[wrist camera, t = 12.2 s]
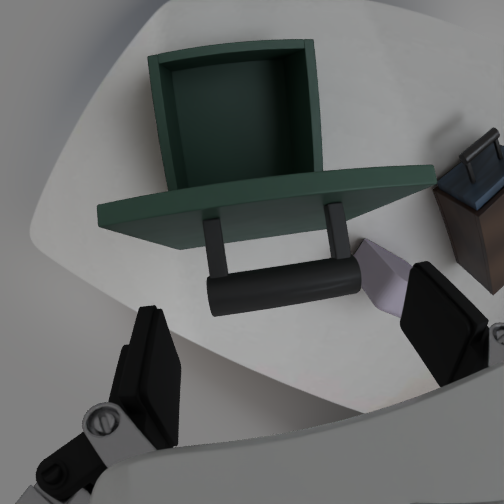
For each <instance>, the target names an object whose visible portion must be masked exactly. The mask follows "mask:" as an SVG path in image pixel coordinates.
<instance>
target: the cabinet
mask: <svg viewBox="0 0 504 504" xmlns="http://www.w3.org/2000/svg"><path fill="white" fill-rule="evenodd" d="M433 192H434V195H435V198H436V200H437V203H438V206H439V208H440V211H441V214H442V217H443V220H444V223H445V225H446V228H447V231H448V235H449V238H450V241H451V244H452V247H453V251H454V254H455V257H456V261H457V263H458V264H459V265H460V266H462V267H463V268H464V269H465V270H466V271H467V272H468V273H469V274H471V275H472V276H473V277H474V278H475V279H476V280H477V281H478V282H479V283H480V284H482V285H483V286H484V287H485V288H486V289H487V290H488V291H489V292H490V293H491V294H492V295H494V294H495V293H496V292H497V291H498V290H499V289H501V288H502V287H503V286H504V188H503V189H502V190H501V191H500V192H499V193H497V194H496V195H495V196H494V197H493V198H492V199H491V200H490V201H489V202H488V203H487V204H486V205H485V206H483V207H482V208H481V209H480V210H479V211H478V210H475V209H473V208H472V207H470V206H468V205H467V204H465V203H463V202H461V201H460V200H458V199H456V198H454V197H453V196H451V195H449V194H447V193H446V192H444V191H442V190H440V189H439V187H438V186H436V187H435V188H434V189H433Z"/></svg>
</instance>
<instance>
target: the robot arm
mask: <svg viewBox="0 0 504 504" xmlns="http://www.w3.org/2000/svg"><path fill="white" fill-rule="evenodd" d="M488 321H489V320H488V319H487V318H486V317H485V316H484V315H483V314H482V313H481V312H480V311H479V310H478V309H477V308H476V307H475V306H474V305H473V304H472V303H471V302H470V301H469V300H468V299H467V298H466V297H465V296H464V295H463V294H462V293H461V292H460V291H459V290H458V289H457V288H456V287H455V286H454V285H453V284H452V283H451V282H450V281H449V280H448V279H447V278H446V277H445V276H444V275H443V274H442V273H441V272H440V271H439V270H437V269H436V268H435V267H434V266H433V265H432V264H431V263H430V262H428V261H425V262H420V263H415V264H414V265H413V268H411V269H410V272H409V278H408V284H407V290H406V295H405V300H404V305H403V310H402V315H401V319H400V327H401V329H402V331H403V332H404V334H405V335H406V337H407V338H408V340H409V341H410V343H411V344H412V345H413V347H414V348H415V350H416V351H417V353H418V354H419V356H420V357H421V359H422V360H423V362H424V363H425V365H426V366H427V368H428V369H429V371H430V372H431V374H432V375H433V377H434V378H435V380H436V382H437V383H438V385H439V386H440V387H441V388H438V389H436V390H433V391H431V392H428V393H426V394H423V395H420V396H418V397H415V398H412V399H409V400H406V401H404V402H401V403H398V404H395V405H392V406H389V407H386V408H382V409H379V410H376V411H373V412H369V413H366V414H363V415H359V416H356V417H352V418H348V419H344V420H341V421H337V422H333V423H329V424H325V425H321V426H316V427H311V428H307V429H302V430H297V431H292V432H287V433H282V434H276V435H271V436H264V437H258V438H251V439H244V440H237V441H229V442H221V443H212V444H202V445H194V446H184V447H175V448H173V446H177V445H178V429H179V402H180V383H181V364H180V360H179V357H178V354H177V352H176V349H175V346H174V343H173V340H172V337H171V334H170V331H169V329H168V326H167V323H166V319H165V316H164V313H163V311H162V309H157V307H156V306H155V305H153V306H144V307H140V308H139V310H138V314H137V318H136V321H135V325H134V328H133V332H132V336H131V340H130V344H129V345H124V346H123V347H122V350H121V354H120V357H119V361H118V364H117V368H116V373H115V376H114V381H113V384H112V389H111V393H110V397H109V402H104V403H99V404H97V405H95V406H93V407H92V408H90V409H89V410H88V411H87V412H86V414H85V415H84V418H83V421H82V428H83V430H84V432H82V433H81V434H80V435H78V436H77V437H76V438H74V439H73V440H71V441H70V442H68V443H67V444H66V445H64V446H63V447H61V448H60V449H59V450H57V451H56V452H54V453H53V454H51V455H50V456H49V457H47V458H46V459H44V460H43V461H42V462H41V463H40V465H39V466H38V468H37V471H36V481H37V483H36V484H35V485H34V487H33V486H32V485H30V486H29V487H28V488H27V490H26V491H25V492H24V493H23V495H22V496H21V497H20V499H19V500H18V501H17V502H16V503H15V504H504V323H500V322H499V323H495V324H493V325H492V326H491V327H490V328H489V327H488V326H487V324H488Z"/></svg>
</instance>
